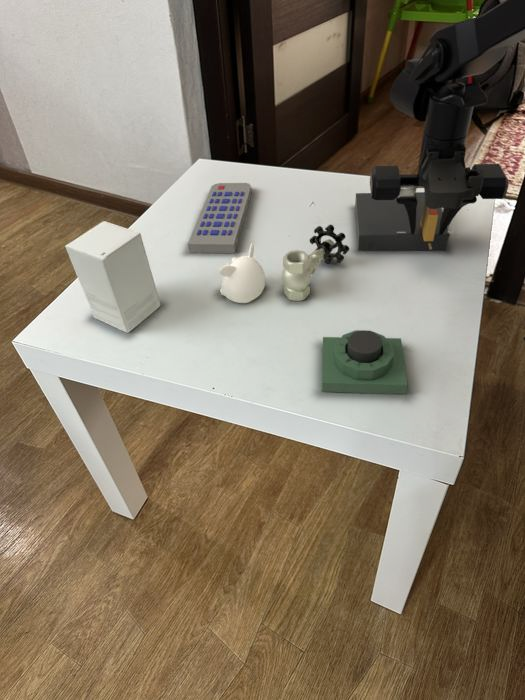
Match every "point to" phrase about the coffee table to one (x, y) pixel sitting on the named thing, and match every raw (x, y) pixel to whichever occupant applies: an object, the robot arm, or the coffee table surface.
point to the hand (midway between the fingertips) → (426, 232)
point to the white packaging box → (115, 275)
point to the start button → (364, 346)
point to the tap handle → (428, 222)
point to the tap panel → (393, 226)
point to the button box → (363, 368)
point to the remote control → (221, 219)
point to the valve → (310, 262)
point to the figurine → (242, 278)
